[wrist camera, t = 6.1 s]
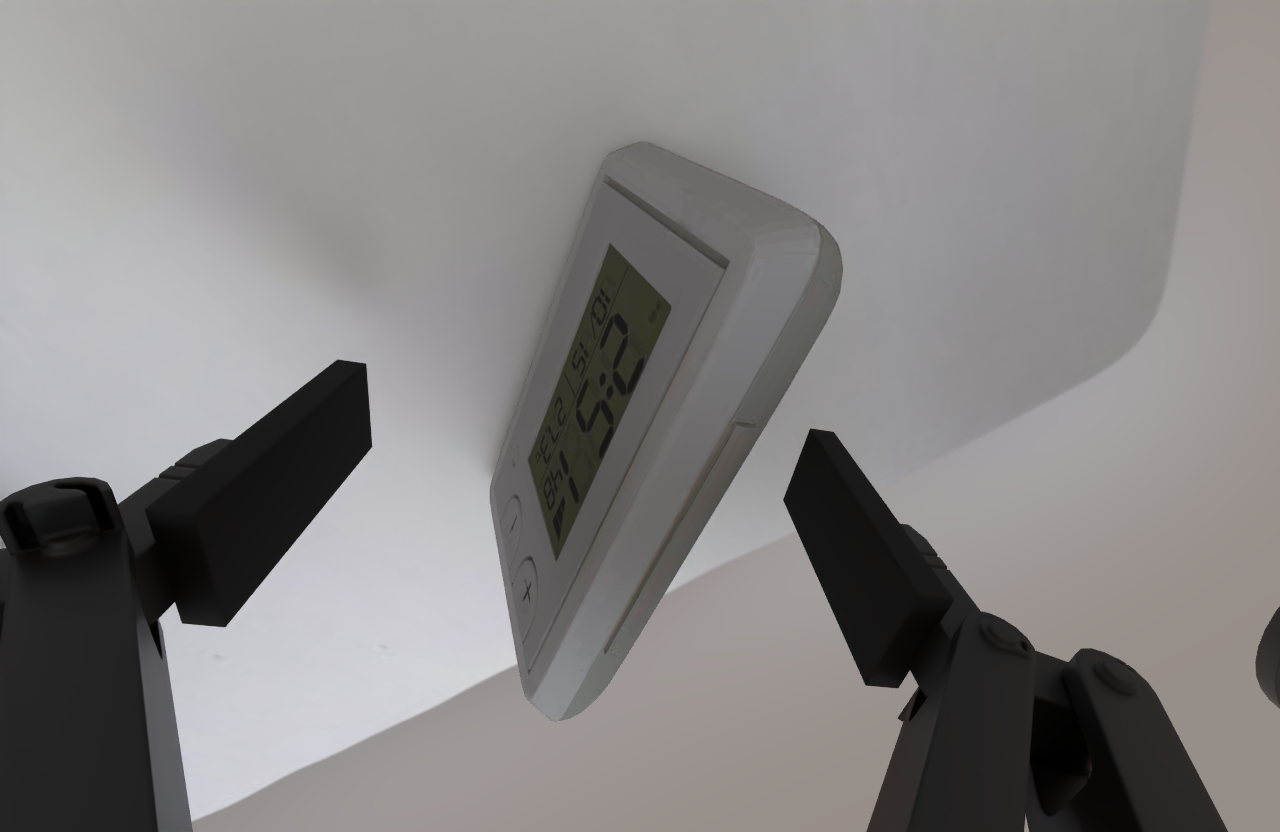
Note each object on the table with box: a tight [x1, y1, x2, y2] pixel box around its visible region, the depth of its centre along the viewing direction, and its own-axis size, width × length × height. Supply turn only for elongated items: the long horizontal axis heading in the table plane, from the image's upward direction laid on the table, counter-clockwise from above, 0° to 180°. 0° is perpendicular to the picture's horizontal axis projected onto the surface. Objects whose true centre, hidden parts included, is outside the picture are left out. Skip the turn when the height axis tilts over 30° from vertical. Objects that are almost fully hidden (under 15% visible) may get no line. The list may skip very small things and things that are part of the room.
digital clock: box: [490, 142, 843, 721], centre depth 17 cm, size 16×9×11 cm, turn 146°
